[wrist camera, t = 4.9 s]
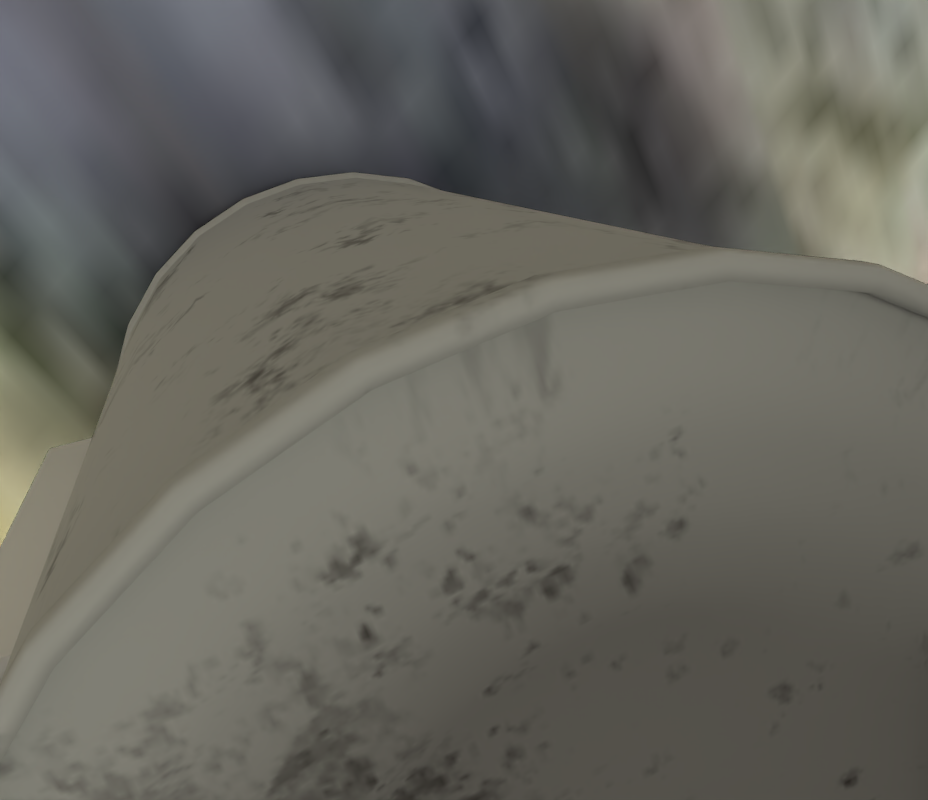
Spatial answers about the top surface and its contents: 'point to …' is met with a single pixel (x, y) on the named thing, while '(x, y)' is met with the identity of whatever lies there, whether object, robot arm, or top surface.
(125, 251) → the top surface
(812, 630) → the speckled white canister
